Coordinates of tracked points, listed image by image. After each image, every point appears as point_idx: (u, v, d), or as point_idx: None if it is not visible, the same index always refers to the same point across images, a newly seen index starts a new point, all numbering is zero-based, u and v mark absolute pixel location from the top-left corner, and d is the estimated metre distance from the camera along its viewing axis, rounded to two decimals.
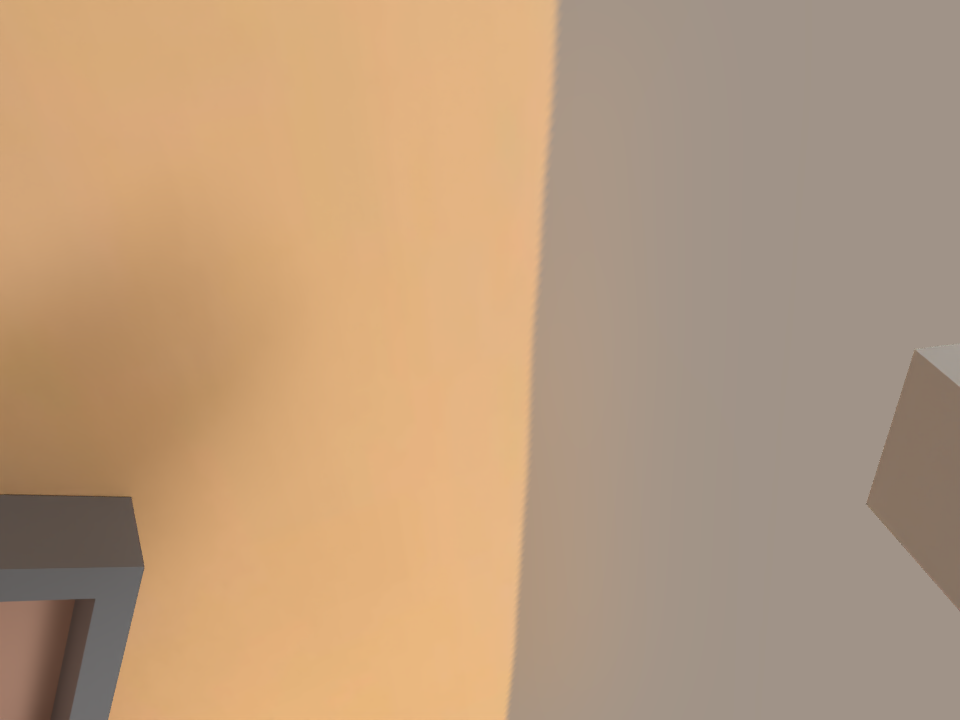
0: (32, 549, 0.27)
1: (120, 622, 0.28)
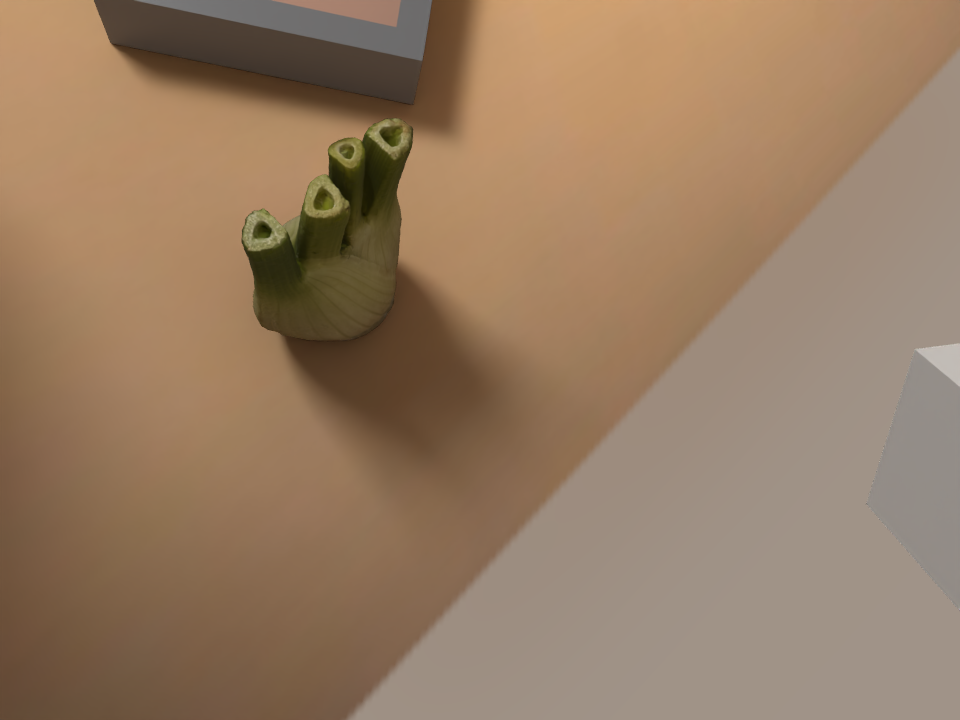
0: None
1: None
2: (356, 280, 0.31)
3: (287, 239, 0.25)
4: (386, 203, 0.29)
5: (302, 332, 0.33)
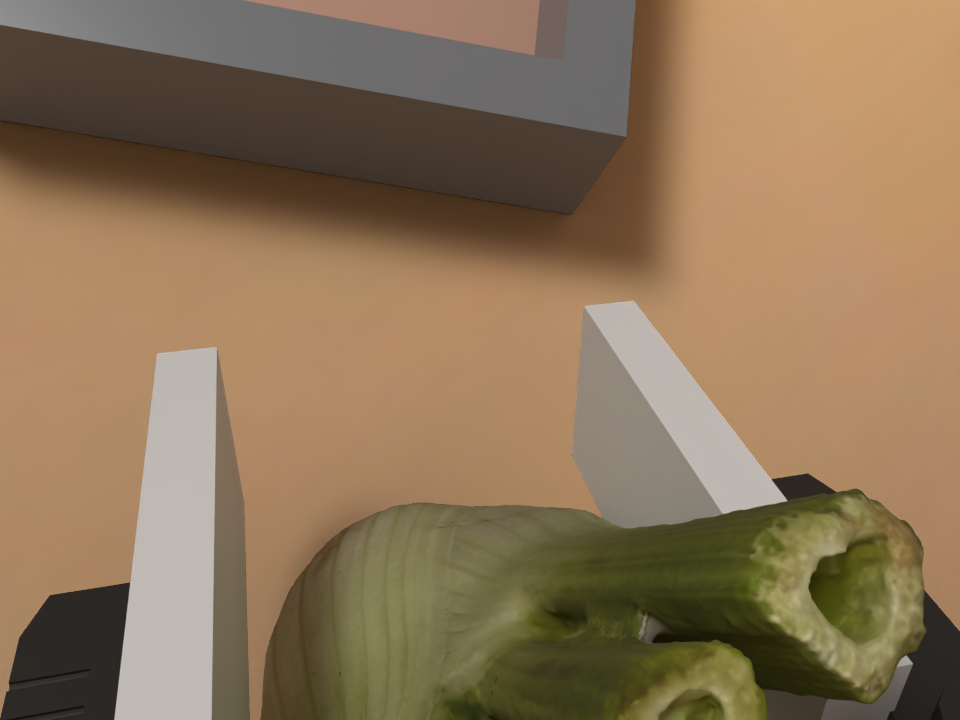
0: None
1: None
2: None
3: None
4: None
5: None
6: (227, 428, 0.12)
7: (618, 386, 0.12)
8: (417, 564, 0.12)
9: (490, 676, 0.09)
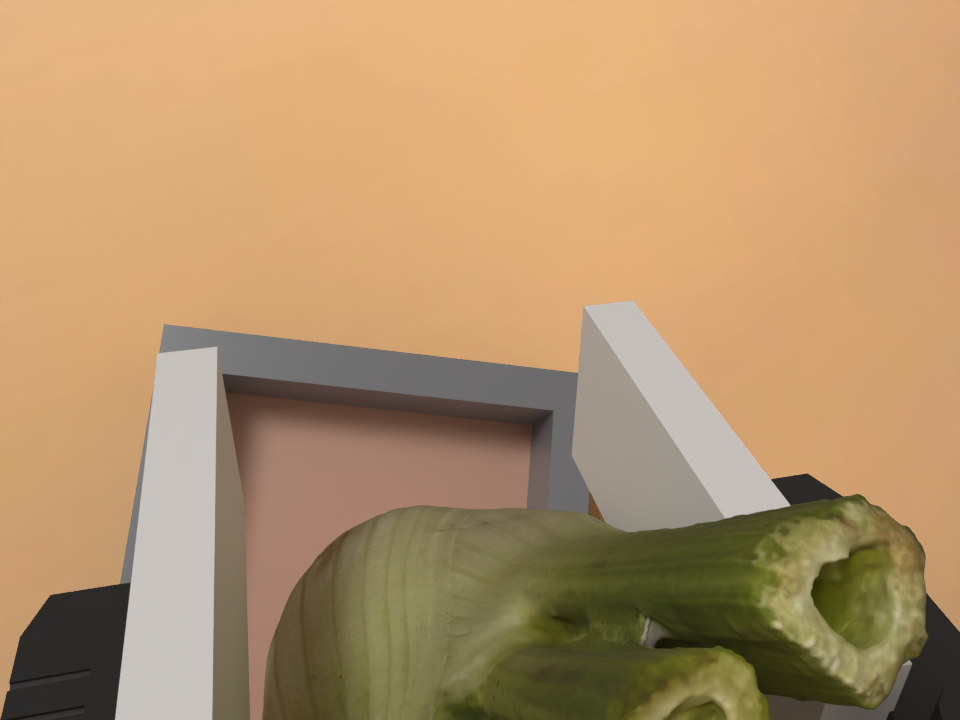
0: None
1: (242, 344, 0.26)
2: None
3: None
4: None
5: None
6: (227, 428, 0.12)
7: (617, 386, 0.12)
8: (418, 566, 0.12)
9: (492, 680, 0.09)
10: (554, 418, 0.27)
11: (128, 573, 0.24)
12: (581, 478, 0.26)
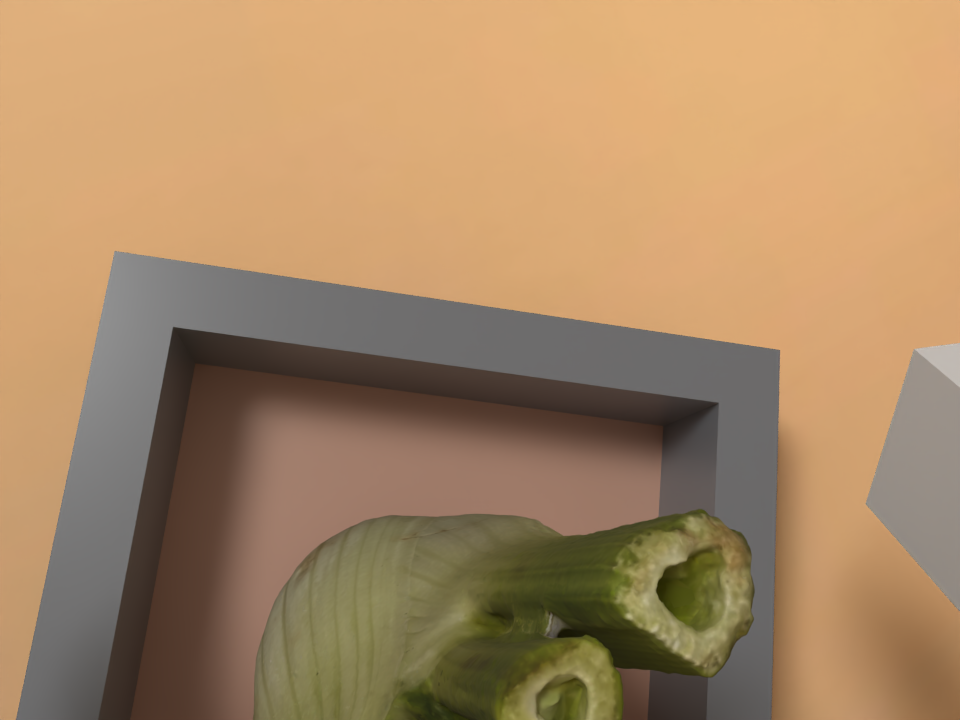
0: None
1: (238, 287, 0.16)
2: None
3: None
4: None
5: None
6: None
7: None
8: (382, 574, 0.14)
9: (438, 670, 0.10)
10: (720, 414, 0.17)
11: (40, 655, 0.14)
12: (763, 509, 0.17)
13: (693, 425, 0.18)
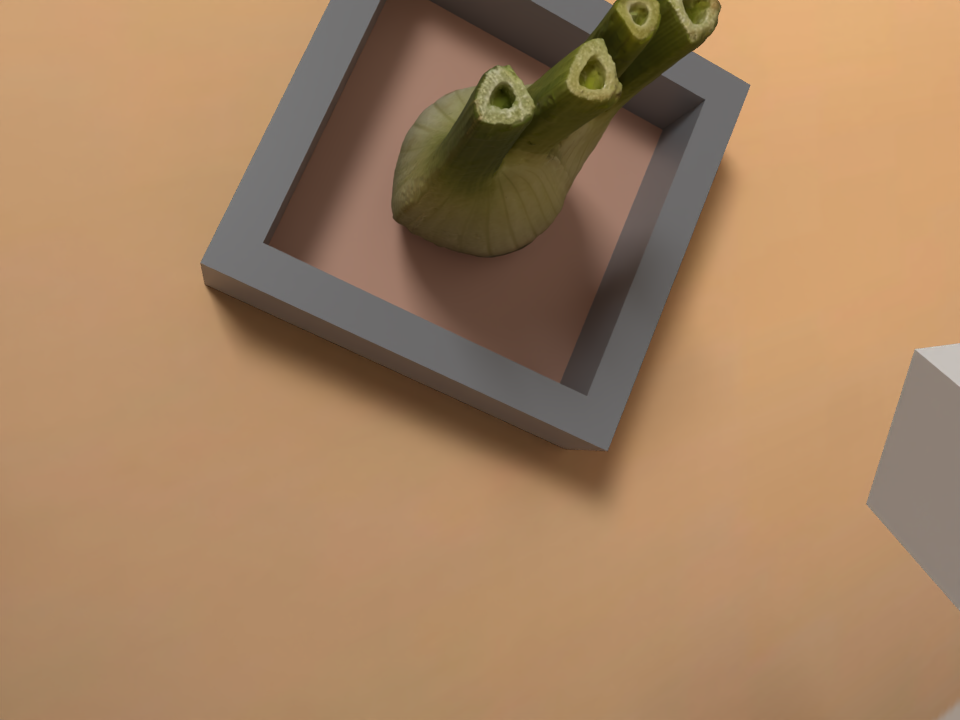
0: None
1: None
2: (543, 189, 0.23)
3: (532, 117, 0.17)
4: (627, 99, 0.21)
5: (443, 237, 0.26)
6: None
7: None
8: None
9: None
10: (704, 106, 0.28)
11: (296, 81, 0.25)
12: (709, 167, 0.28)
13: (684, 119, 0.29)
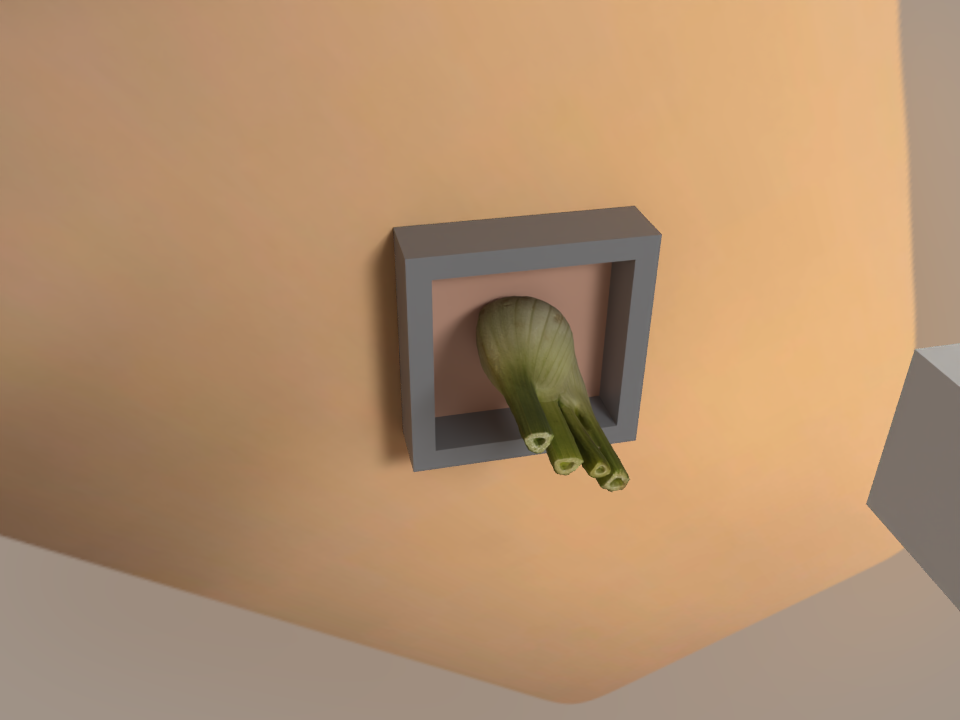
0: (595, 232, 0.44)
1: (650, 275, 0.45)
2: None
3: (536, 452, 0.38)
4: None
5: (480, 353, 0.45)
6: None
7: None
8: (569, 360, 0.44)
9: (569, 410, 0.41)
10: (613, 427, 0.49)
11: (525, 250, 0.42)
12: None
13: (605, 413, 0.50)
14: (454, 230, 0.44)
